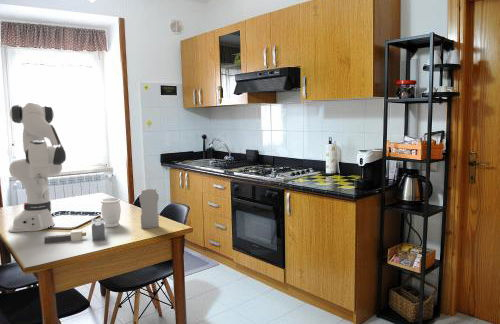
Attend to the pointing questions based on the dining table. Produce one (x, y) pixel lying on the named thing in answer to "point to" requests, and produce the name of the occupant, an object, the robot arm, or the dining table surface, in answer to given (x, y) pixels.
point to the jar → (111, 211)
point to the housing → (98, 229)
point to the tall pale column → (149, 208)
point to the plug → (66, 237)
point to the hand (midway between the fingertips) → (41, 200)
